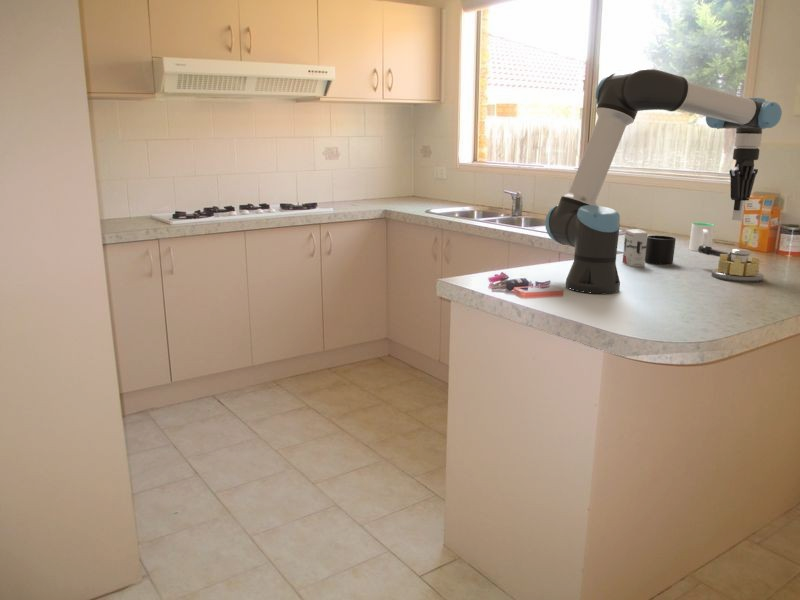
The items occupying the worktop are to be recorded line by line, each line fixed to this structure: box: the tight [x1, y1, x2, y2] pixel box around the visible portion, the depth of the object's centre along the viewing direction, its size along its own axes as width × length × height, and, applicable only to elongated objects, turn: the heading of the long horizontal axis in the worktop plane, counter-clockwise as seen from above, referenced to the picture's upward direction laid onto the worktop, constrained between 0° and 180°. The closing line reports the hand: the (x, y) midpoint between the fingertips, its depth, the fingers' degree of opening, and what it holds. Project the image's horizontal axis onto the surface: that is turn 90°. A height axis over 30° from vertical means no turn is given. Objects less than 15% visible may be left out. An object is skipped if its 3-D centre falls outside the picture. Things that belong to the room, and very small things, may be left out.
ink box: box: [622, 228, 648, 267], centre depth 231 cm, size 8×5×12 cm, turn 2°
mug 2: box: [688, 222, 715, 253], centre depth 262 cm, size 12×8×10 cm
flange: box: [711, 248, 765, 284], centre depth 212 cm, size 15×15×9 cm
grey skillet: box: [697, 245, 761, 276], centre depth 218 cm, size 11×24×6 cm, turn 13°
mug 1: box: [645, 235, 677, 266], centre depth 237 cm, size 9×12×9 cm
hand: (737, 220), depth 222 cm, fingers closed
